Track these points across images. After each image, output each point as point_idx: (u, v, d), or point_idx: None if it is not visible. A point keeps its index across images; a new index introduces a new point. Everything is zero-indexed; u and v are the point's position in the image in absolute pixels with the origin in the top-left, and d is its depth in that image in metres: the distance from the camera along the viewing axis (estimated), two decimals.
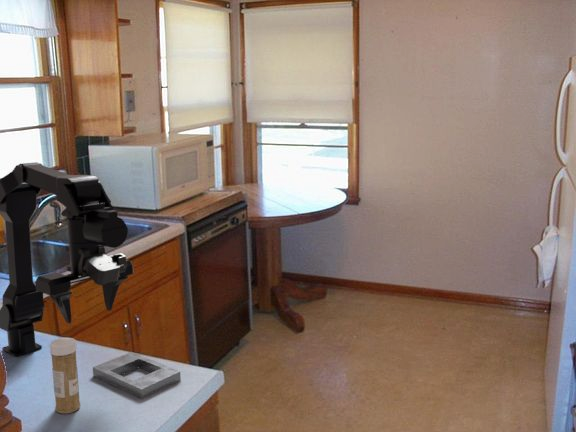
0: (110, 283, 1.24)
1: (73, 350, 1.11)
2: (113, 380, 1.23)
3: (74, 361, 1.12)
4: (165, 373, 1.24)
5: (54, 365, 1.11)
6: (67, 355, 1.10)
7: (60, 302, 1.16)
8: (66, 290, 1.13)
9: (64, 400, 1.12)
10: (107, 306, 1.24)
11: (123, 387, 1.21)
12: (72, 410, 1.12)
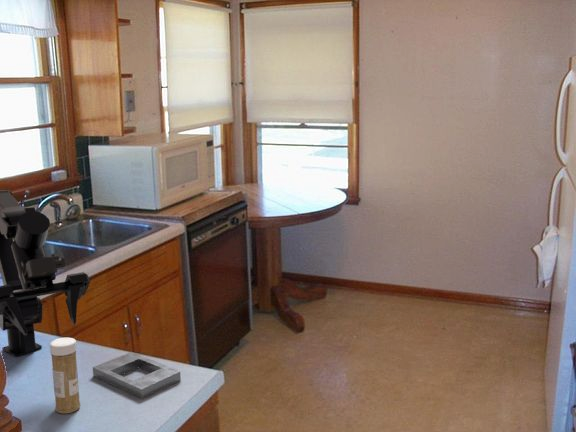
0: (69, 297, 1.23)
1: (73, 350, 1.11)
2: (113, 380, 1.23)
3: (74, 361, 1.12)
4: (165, 373, 1.24)
5: (54, 365, 1.11)
6: (67, 355, 1.10)
7: (13, 316, 1.17)
8: (8, 293, 1.15)
9: (64, 400, 1.12)
10: (72, 320, 1.21)
11: (123, 387, 1.21)
12: (72, 410, 1.12)
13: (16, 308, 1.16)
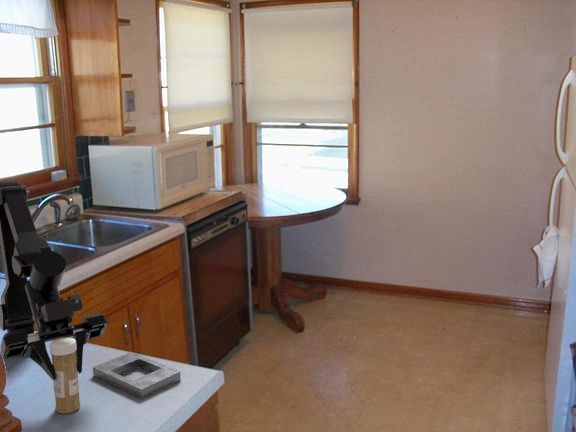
0: None
1: (73, 350, 1.11)
2: (113, 380, 1.23)
3: (74, 361, 1.12)
4: (165, 373, 1.24)
5: (54, 365, 1.11)
6: (67, 355, 1.10)
7: (41, 360, 1.12)
8: (23, 340, 1.09)
9: (64, 400, 1.12)
10: (77, 369, 1.13)
11: (123, 387, 1.21)
12: (72, 410, 1.12)
13: (44, 352, 1.11)
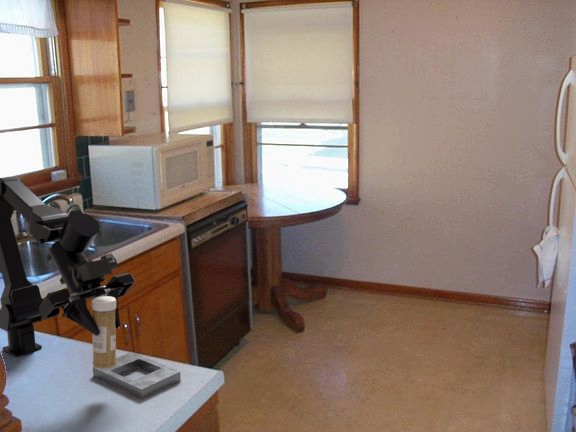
0: None
1: (115, 306, 1.17)
2: (113, 380, 1.23)
3: (114, 317, 1.18)
4: (165, 373, 1.24)
5: (97, 321, 1.16)
6: (110, 311, 1.16)
7: (81, 318, 1.16)
8: (67, 298, 1.13)
9: (105, 355, 1.17)
10: (115, 324, 1.19)
11: (123, 387, 1.21)
12: (111, 365, 1.18)
13: (85, 309, 1.15)
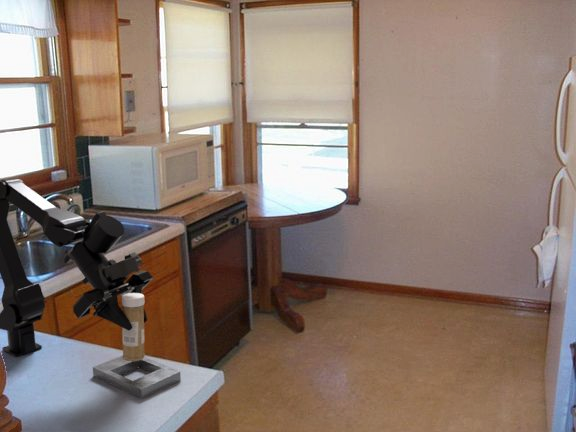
0: None
1: (144, 302, 1.24)
2: (113, 380, 1.23)
3: (143, 312, 1.25)
4: (165, 373, 1.24)
5: (129, 317, 1.22)
6: (141, 306, 1.23)
7: (113, 314, 1.22)
8: (102, 296, 1.18)
9: (137, 348, 1.23)
10: None
11: (123, 387, 1.21)
12: (142, 357, 1.25)
13: (117, 306, 1.21)
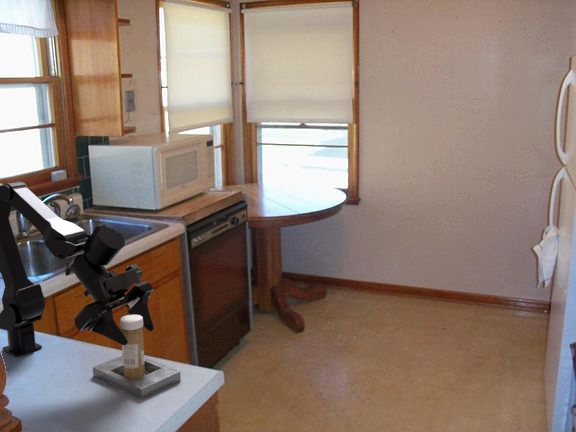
0: (139, 307, 1.29)
1: None
2: (113, 380, 1.23)
3: (142, 334, 1.25)
4: (165, 373, 1.24)
5: (128, 339, 1.22)
6: (140, 328, 1.23)
7: (108, 329, 1.20)
8: (103, 309, 1.18)
9: (138, 370, 1.24)
10: (149, 327, 1.28)
11: (123, 387, 1.21)
12: None
13: (112, 321, 1.20)
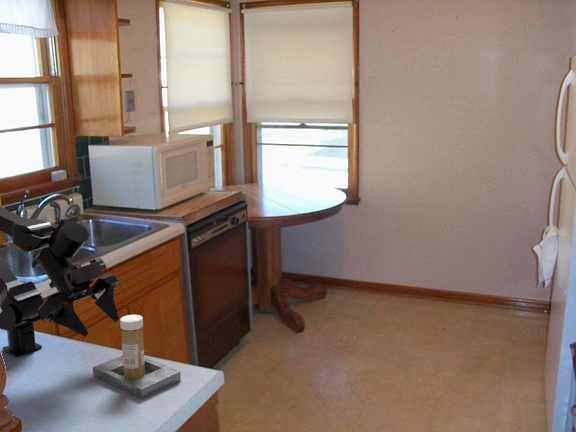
0: (105, 298, 1.33)
1: None
2: (113, 380, 1.23)
3: (142, 334, 1.25)
4: (165, 373, 1.24)
5: (128, 340, 1.22)
6: (140, 328, 1.23)
7: (69, 321, 1.24)
8: (66, 300, 1.22)
9: (138, 370, 1.24)
10: (114, 318, 1.32)
11: (123, 387, 1.21)
12: None
13: (73, 312, 1.24)
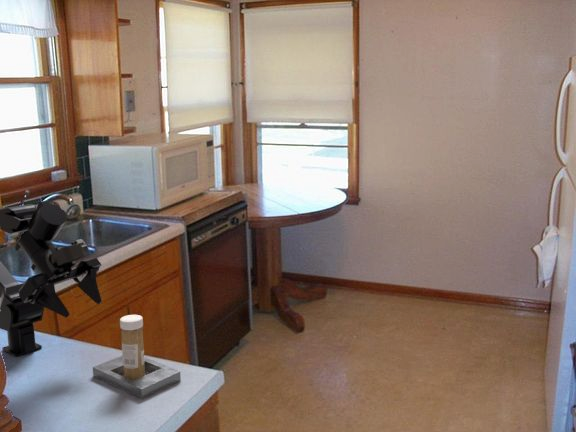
0: (87, 280, 1.33)
1: (142, 323, 1.24)
2: (113, 380, 1.23)
3: (142, 334, 1.25)
4: (165, 373, 1.24)
5: (128, 340, 1.22)
6: (140, 328, 1.23)
7: (50, 302, 1.24)
8: (47, 281, 1.22)
9: (138, 370, 1.24)
10: (96, 300, 1.32)
11: (123, 387, 1.21)
12: None
13: (54, 293, 1.24)
